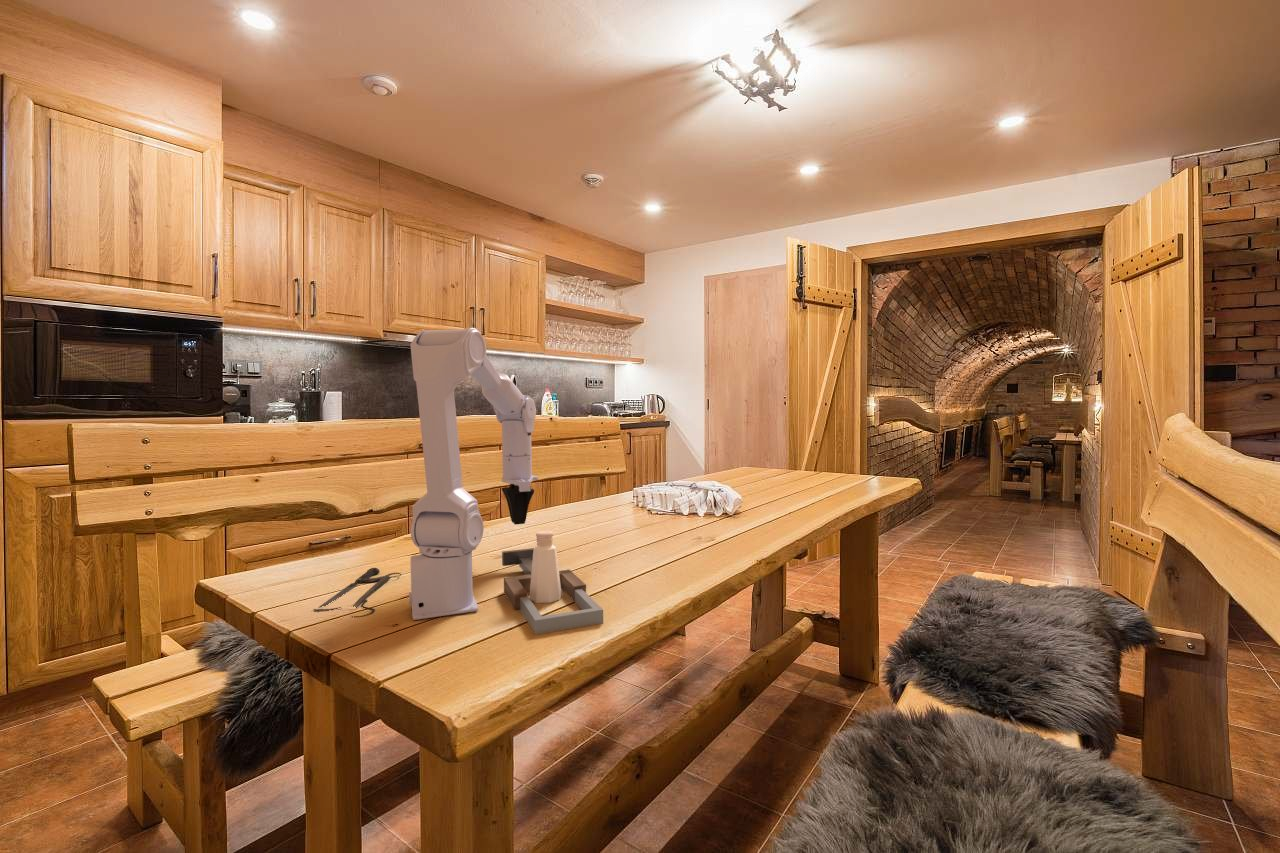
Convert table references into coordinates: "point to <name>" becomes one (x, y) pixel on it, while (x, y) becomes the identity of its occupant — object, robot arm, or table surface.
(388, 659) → the table surface
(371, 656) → the table surface
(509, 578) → the holder
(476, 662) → the table surface
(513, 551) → the release key
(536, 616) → the grey u-shaped frame
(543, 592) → the pepper shaker
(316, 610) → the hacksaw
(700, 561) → the table surface
